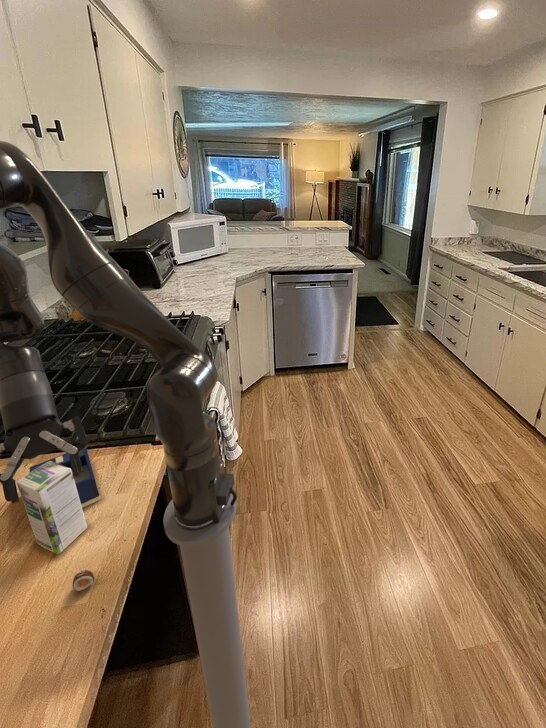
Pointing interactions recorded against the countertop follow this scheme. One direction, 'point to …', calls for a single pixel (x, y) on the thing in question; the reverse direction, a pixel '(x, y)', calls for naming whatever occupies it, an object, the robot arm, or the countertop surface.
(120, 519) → the countertop surface
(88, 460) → the navy blue pull-out drawer
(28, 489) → the syrup box
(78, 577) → the chocolate
